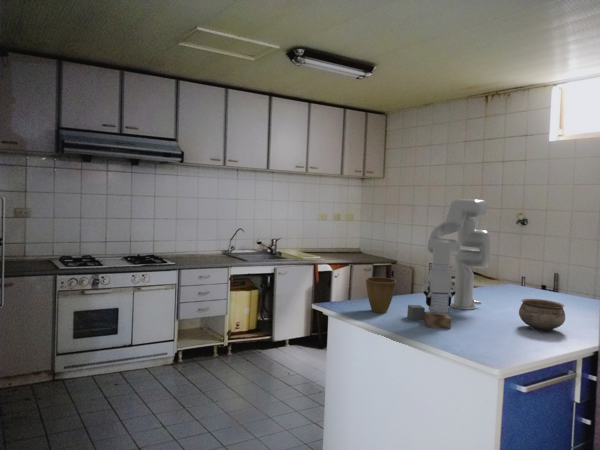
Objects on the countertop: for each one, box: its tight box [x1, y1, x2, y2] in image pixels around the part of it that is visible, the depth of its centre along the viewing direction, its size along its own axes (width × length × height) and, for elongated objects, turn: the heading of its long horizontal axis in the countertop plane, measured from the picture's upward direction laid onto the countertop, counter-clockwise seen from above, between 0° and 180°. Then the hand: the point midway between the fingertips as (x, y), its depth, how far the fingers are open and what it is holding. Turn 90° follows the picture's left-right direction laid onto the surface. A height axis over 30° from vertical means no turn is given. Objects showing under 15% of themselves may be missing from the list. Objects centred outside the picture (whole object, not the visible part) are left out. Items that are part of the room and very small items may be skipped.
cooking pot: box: [518, 298, 566, 332], centre depth 218 cm, size 25×19×12 cm
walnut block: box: [423, 311, 452, 330], centre depth 217 cm, size 10×10×5 cm
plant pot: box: [365, 276, 397, 314], centre depth 238 cm, size 15×15×16 cm
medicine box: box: [428, 293, 449, 314], centre depth 217 cm, size 8×4×9 cm, turn 85°
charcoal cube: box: [406, 304, 426, 322], centre depth 227 cm, size 6×6×6 cm
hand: (438, 305), depth 217 cm, fingers closed on medicine box, 8 cm apart
